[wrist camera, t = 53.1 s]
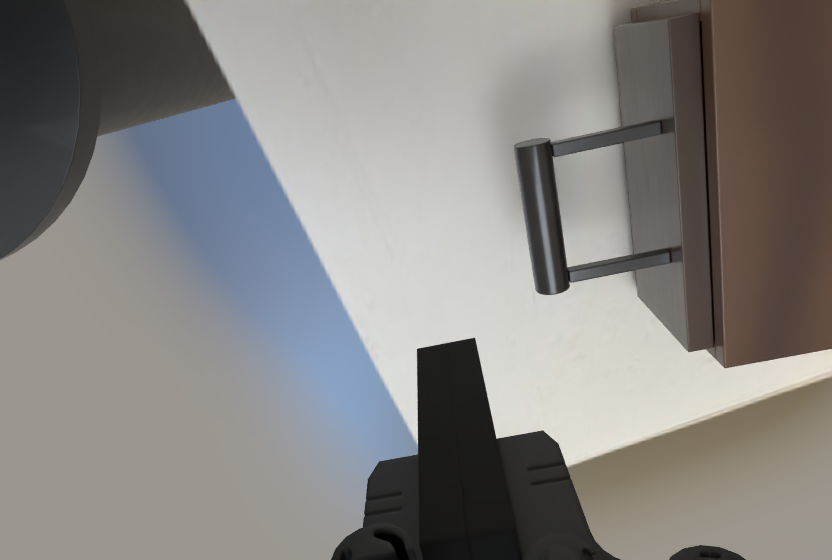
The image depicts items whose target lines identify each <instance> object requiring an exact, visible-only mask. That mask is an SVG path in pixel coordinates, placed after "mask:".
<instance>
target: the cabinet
mask: <svg viewBox="0 0 832 560" xmlns="http://www.w3.org/2000/svg"><path fill="white" fill-rule="evenodd" d="M694 13H699V21H700V25H702V42H703V66H704V89H705V112H706V136H707V159H708V182H709V206H710V229H711V252H712V276H713V299H714V300H713V299H712V317H713V340H714V347H713V348H708V349H706V350H707V351H708V352H709V353H710V354H711V355H712V356H713V357H714V358H715V359H716V360H717V361H718V362H719V363H720V364H721V365H722V366H723V367H724V368H729V367H735V366H740V365H745V364H751V363H756V362H762V361H767V360H773V359H778V358H784V357H789V356H795V355H800V354H806V353H811V352H817V351H822V350H827V349H832V0H666V1H662V2H658V3H653V4H649V5H644V6H640V7H636V8H632V9H631V18H632V22H634V21H640V20H647V19H655V18H663V17H671V16H679V15H686V14H694Z"/></svg>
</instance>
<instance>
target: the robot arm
mask: <svg viewBox="0 0 832 560" xmlns="http://www.w3.org/2000/svg"><path fill="white" fill-rule="evenodd" d="M417 384H418V455H413V456H408V457H402V458H396V459H391V460H385V461H380V462H379V463H378V464H377V466H376V467H375V469H374V471H373V472H372V474H371V475H370V477H369V479H368V484H367V494H366V503H365V512H364V514H365V517H364V522H363V528H361V529H358V530H357V531H355V532H353V533H352V534H350V535H349V536H347V537H346V538H345V539H344V540H343V541H342V542H341V543H340V545H339V546H338V547H337V548H336V550H335V552H334V554H333V557H332V559H331V560H620V559H618V558H615V557H613V556H612V555H610V554H609V553H607V552H606V551H604V550H603V549H602V548H601V547H600V546H599V545H598V544H597V543H596V541H595V540H594V538H593V536H592V534H591V532H590V529H589V526H588V524H587V521H586V518H585V516H584V513H583V510H582V508H581V505H580V502H579V499H578V496H577V494H576V491H575V488H574V486H573V483H572V480H571V479H570V475H569V472H568V469H567V466H566V465H565V461H564V458H563V455H562V453H561V450H560V447H559V444H558V443H557V442H556V441H554V440H553V439H552V438H551V437H550V436H549V435H547V434H546V433H545V432H544V431H538V432H532V433H526V434H521V435H515V436H510V437H504V438H499V439H496V435H495V430H494V425H493V421H492V416H491V411H490V407H489V402H488V397H487V392H486V388H485V383H484V378H483V374H482V369H481V364H480V359H479V355H478V350H477V345H476V340H475V338H471V339H466V340H461V341H456V342H450V343H445V344H440V345H435V346H430V347H424V348H419V349H417ZM669 560H745V559H744V558H743V557H741V556H740V555H739V554H736V553H734V552H731V551H728V550H726V549H723V548H720V547H713V546H702V545H699V546H694V547H689V548H684V549H682V550H681V551H679V552H677V553H676V554H674V555H673V556H671V557H670V559H669Z"/></svg>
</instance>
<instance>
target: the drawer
mask: <svg viewBox="0 0 832 560" xmlns="http://www.w3.org/2000/svg"><path fill="white" fill-rule="evenodd" d="M613 28H614V39H615V50H616V61H617V72H618V83H619V94H620V105H621V116H622V127H619V128H614V129H610V130H605V131H600V132H596V133H591V134H586V135H582V136H577V137H572V138H567V139H563V140H558V141H553V142H551V140H550V139H548V138H538V139H531V140H527V141H523V142H520V143H517V144H515V145H514V153H515V159H516V166H517V172H518V179H519V185H520V192H521V198H522V205H523V211H524V218H525V224H526V231H527V237H528V244H529V250H530V257H531V263H532V270H533V276H534V283H535V289H536V291H537V292H538V293H539V294H543V295H553V294H559V293H562V292H564V291H566V290H567V289H568V288H569V286H570V284H569V281H570V282H571V283H572V282H577V281H582V280H587V279H592V278H597V277H602V276H608V275H613V274H618V273H623V272H628V271H633V270H635V271H636V282H637V293H638V297H639V298H640V299H641V300H642V301H643V303H644V304H645V305H646V306H647V307H648V308H649V309H650V310H651V311H652V312H653V314H654V315H655V316H656V317H657V318H658V319H659V320H660V321H661V322H662V323H663V325H664V326H665V327H666V328H667V329H668V330H669V331H670V332H671V333H672V335H673V336H674V337H675V338H676V339H677V340H678V341H679V342H680V343H681V344H682V346H683V347H684V348H685V349H686V350H687V351H688V352H692V351H697V350H703V349H708V348H713V347H714V340H713V317H712V299H713V276H712V252H711V229H710V206H709V182H708V159H707V136H706V112H705V89H704V66H703V42H702V25H700V21H699V13H694V14H686V15H679V16H671V17H663V18H655V19H647V20H640V21H634V22H630V23H625V24H621V25H616V26H614V27H613ZM619 143H624V150H625V161H626V172H627V183H628V194H629V205H630V216H631V227H632V238H633V249H634V254H633V255H628V256H623V257H618V258H613V259H608V260H603V261H598V262H593V263H588V264H583V265H578V266H573V267H568V268H567V261H566V254H565V246H564V239H563V231H562V224H561V216H560V208H559V201H558V193H557V186H556V178H555V171H554V163H553V157H558V156H563V155H567V154H572V153H577V152H582V151H586V150H591V149H596V148H600V147H605V146H610V145H615V144H619ZM713 300H714V299H713Z"/></svg>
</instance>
